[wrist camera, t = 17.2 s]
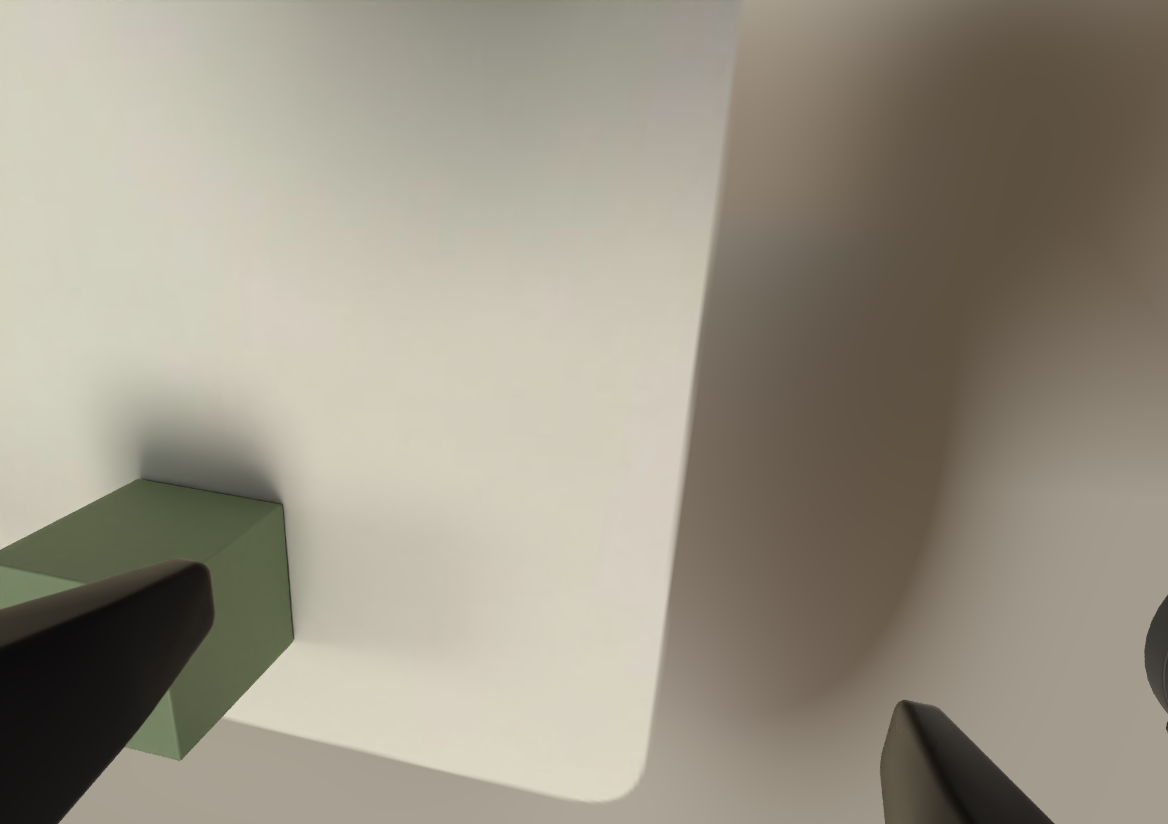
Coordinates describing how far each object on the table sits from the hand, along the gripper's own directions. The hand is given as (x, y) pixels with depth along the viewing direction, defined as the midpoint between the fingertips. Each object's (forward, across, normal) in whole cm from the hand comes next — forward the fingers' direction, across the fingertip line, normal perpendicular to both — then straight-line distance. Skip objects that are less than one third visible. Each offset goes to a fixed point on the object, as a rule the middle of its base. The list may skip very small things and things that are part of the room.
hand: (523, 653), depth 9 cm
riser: (+13, +16, +10) cm, 22 cm away
